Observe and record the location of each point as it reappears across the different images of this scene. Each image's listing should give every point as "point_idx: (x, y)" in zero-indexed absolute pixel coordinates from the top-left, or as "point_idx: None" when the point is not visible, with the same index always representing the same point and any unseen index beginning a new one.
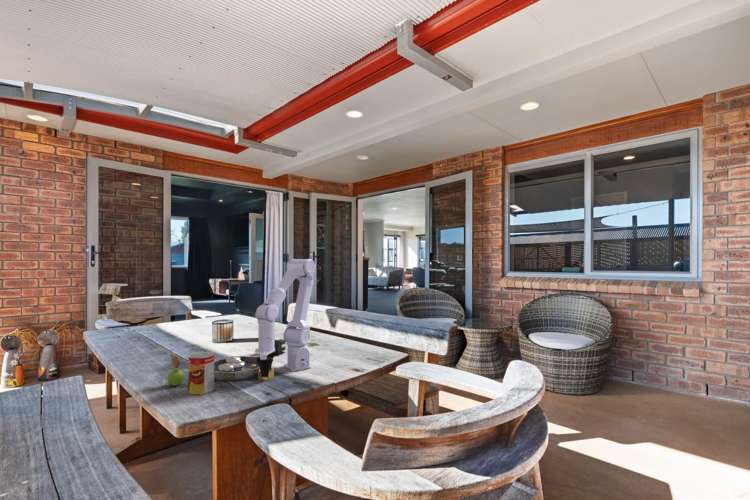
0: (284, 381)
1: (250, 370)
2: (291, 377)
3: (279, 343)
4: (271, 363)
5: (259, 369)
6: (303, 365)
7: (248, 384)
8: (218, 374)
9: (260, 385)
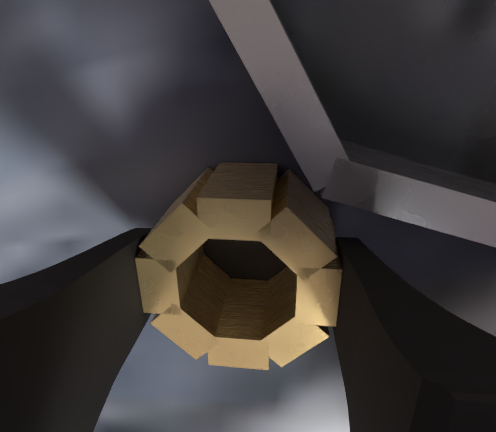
0: (143, 378)
1: (244, 61)
2: (237, 421)
3: None
4: (344, 384)
5: (256, 205)
6: None
7: (43, 82)
8: None
9: (31, 211)
